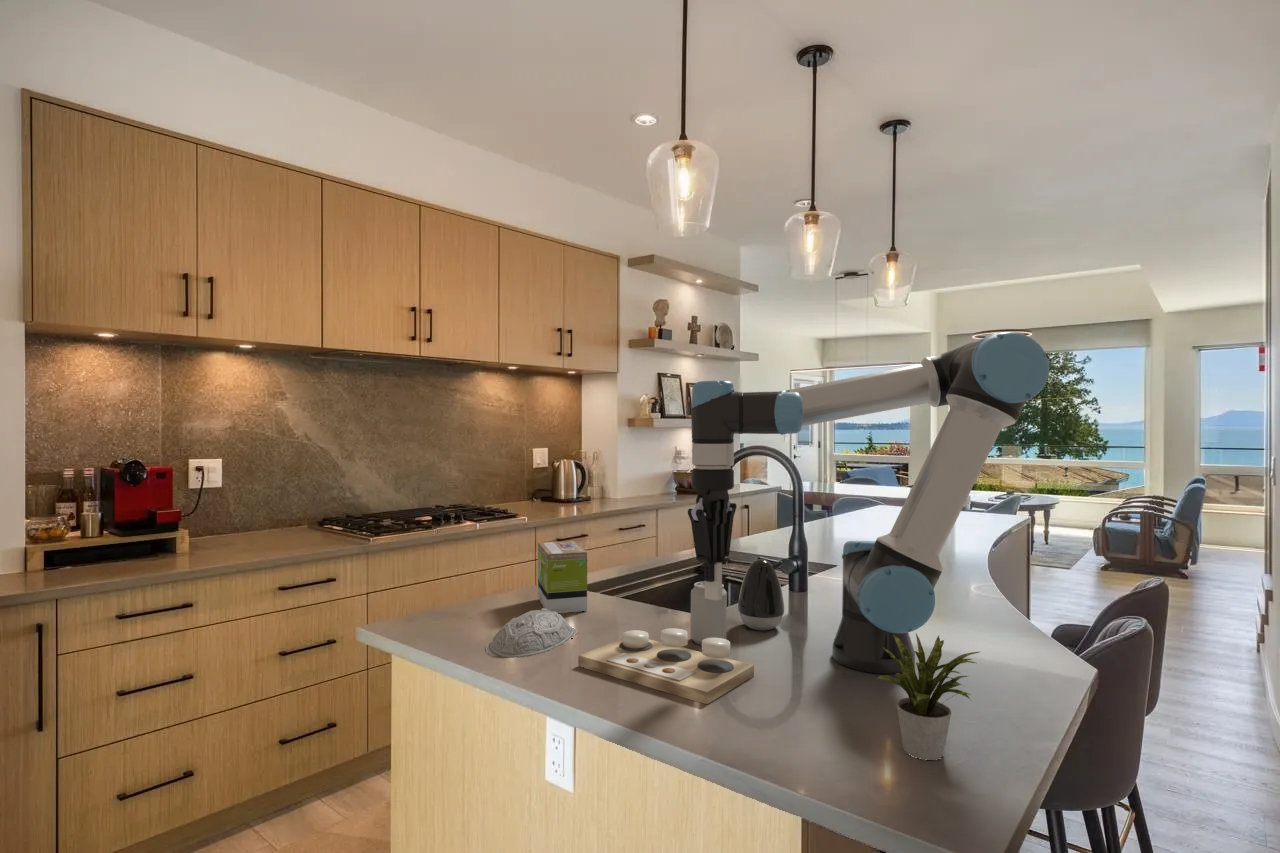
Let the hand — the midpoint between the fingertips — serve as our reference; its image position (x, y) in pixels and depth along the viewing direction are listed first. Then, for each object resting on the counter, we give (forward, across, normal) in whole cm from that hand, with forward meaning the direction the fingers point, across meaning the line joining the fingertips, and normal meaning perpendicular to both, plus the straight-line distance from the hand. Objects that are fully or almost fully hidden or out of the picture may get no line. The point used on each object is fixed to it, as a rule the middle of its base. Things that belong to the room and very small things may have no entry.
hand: (713, 598), depth 124 cm
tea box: (+14, -17, -55) cm, 59 cm away
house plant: (+15, +7, +39) cm, 42 cm away
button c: (+11, +1, -17) cm, 21 cm away
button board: (+14, +4, -8) cm, 16 cm away
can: (+14, -16, -12) cm, 25 cm away
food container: (+14, +6, -41) cm, 43 cm away
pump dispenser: (+14, -32, -8) cm, 36 cm away
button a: (+10, 0, +1) cm, 10 cm away
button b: (+10, 0, -8) cm, 13 cm away
